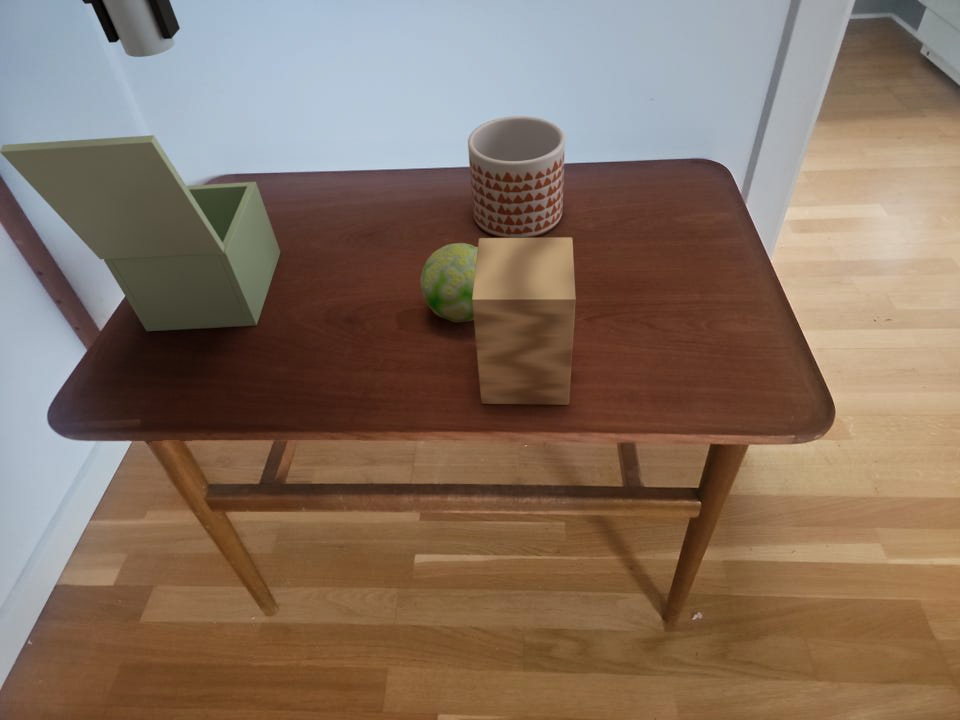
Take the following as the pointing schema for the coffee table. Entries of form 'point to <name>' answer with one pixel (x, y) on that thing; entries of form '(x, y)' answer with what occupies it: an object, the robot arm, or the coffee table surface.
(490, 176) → the planter
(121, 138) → the lid
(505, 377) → the stand
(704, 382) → the coffee table surface
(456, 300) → the decorative ball
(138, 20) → the bottle
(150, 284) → the box
